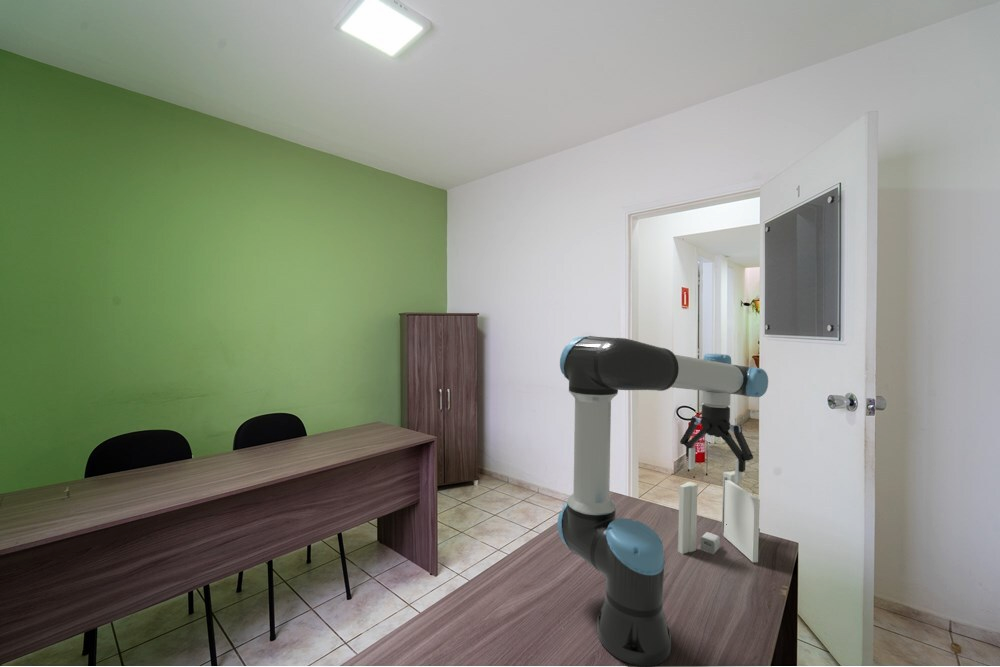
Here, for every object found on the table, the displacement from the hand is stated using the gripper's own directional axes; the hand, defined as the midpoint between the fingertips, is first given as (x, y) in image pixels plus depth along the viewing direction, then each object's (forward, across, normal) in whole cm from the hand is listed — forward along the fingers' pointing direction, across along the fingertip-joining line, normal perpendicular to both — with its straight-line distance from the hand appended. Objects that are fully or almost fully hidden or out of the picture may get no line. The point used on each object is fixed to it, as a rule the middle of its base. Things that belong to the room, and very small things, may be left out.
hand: (713, 474), depth 122 cm
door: (+22, -6, -6) cm, 23 cm away
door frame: (+22, +2, -2) cm, 23 cm away
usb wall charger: (+23, 0, 0) cm, 23 cm away
